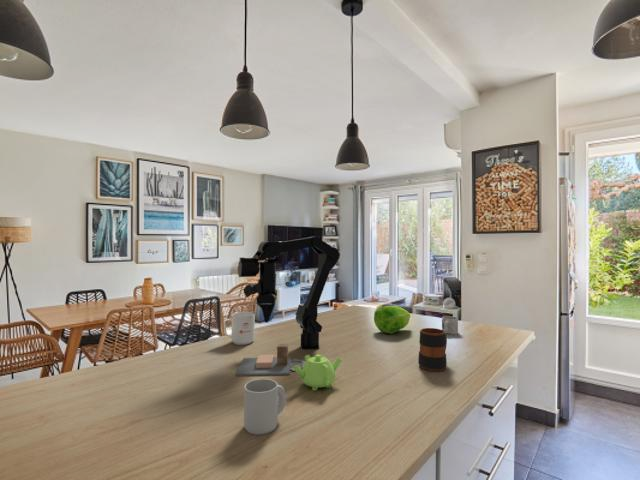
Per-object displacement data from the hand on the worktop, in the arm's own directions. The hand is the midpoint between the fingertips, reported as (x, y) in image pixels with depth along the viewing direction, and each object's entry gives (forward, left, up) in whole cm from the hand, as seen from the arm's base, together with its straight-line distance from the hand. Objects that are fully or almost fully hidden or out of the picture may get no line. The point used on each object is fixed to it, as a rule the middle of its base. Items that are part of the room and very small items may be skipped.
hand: (267, 319), depth 127 cm
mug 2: (-56, +15, -12) cm, 59 cm away
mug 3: (-77, -24, -12) cm, 81 cm away
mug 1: (+12, -13, -12) cm, 21 cm away
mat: (-1, +14, -12) cm, 19 cm away
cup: (-5, +49, -12) cm, 51 cm away
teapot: (-17, +28, -12) cm, 35 cm away
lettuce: (-54, -28, -12) cm, 62 cm away
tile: (-1, +10, -10) cm, 15 cm away
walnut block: (-6, +13, -11) cm, 19 cm away
